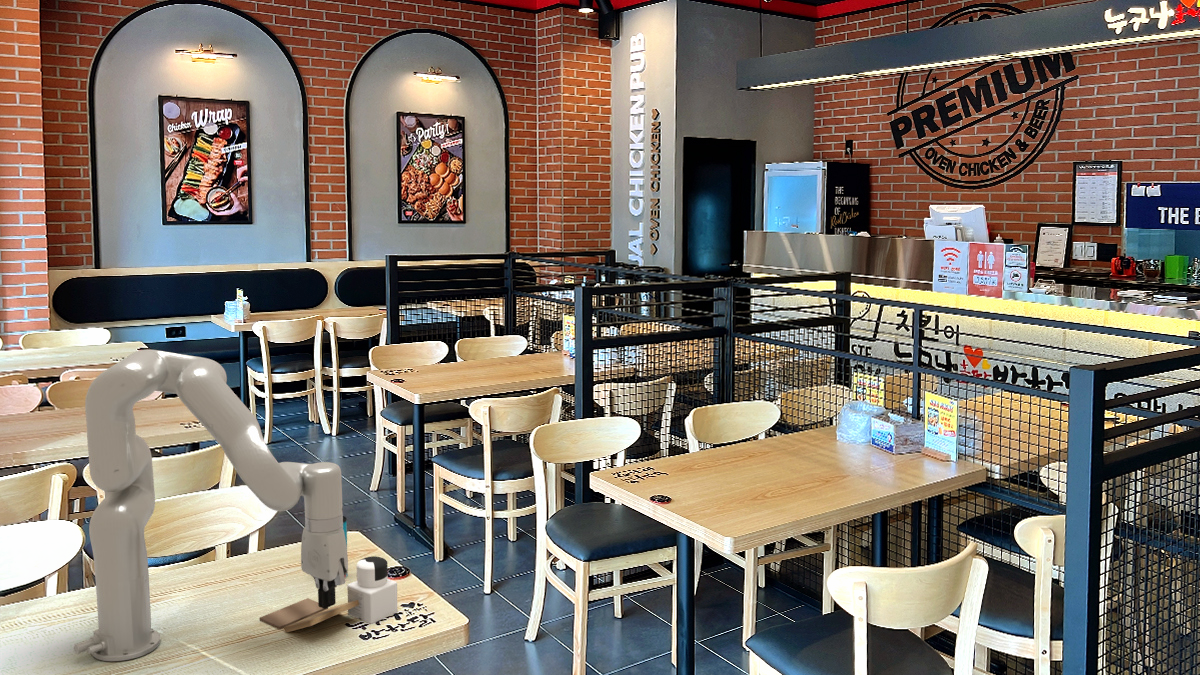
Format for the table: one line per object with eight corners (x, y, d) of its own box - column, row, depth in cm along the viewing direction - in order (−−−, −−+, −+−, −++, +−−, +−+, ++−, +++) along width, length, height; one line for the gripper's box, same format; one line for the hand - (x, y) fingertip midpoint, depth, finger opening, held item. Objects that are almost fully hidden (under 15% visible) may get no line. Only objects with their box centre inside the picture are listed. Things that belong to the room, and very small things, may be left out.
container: (374, 605, 217) (373, 550, 215) (398, 615, 212) (397, 558, 210) (347, 617, 211) (346, 561, 209) (371, 627, 206) (370, 569, 204)
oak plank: (311, 625, 196) (309, 620, 196) (285, 632, 202) (283, 627, 202) (359, 604, 206) (357, 599, 207) (333, 612, 212) (331, 607, 212)
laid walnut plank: (315, 648, 196) (315, 642, 196) (259, 623, 207) (259, 617, 206) (364, 626, 207) (363, 620, 206) (308, 603, 217) (307, 597, 217)
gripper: (286, 520, 201) (289, 602, 204) (333, 535, 193) (336, 621, 196) (315, 510, 207) (318, 590, 210) (362, 524, 199) (365, 608, 202)
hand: (327, 605), depth 203 cm, fingers closed
